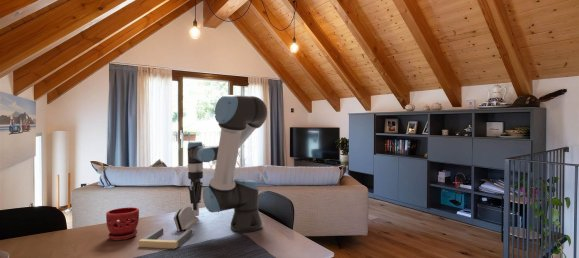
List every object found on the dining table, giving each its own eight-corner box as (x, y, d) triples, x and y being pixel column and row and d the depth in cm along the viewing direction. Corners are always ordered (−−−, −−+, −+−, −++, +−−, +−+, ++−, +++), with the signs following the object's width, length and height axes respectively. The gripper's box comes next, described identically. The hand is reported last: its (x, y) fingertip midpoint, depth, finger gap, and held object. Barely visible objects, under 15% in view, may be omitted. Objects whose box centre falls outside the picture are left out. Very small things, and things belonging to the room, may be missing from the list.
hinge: (187, 231, 150) (180, 211, 149) (178, 234, 150) (171, 214, 150) (199, 220, 166) (192, 202, 166) (191, 223, 166) (184, 205, 166)
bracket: (192, 234, 146) (192, 229, 145) (175, 248, 130) (175, 242, 130) (159, 233, 147) (159, 227, 147) (138, 246, 132) (138, 240, 131)
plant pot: (144, 236, 144) (143, 209, 144) (112, 244, 134) (112, 216, 134) (132, 229, 153) (132, 204, 153) (102, 236, 143) (101, 210, 143)
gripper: (193, 169, 175) (194, 211, 176) (183, 172, 162) (183, 219, 163) (207, 169, 174) (207, 212, 175) (197, 173, 161) (197, 219, 162)
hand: (196, 215), depth 169 cm, fingers closed
